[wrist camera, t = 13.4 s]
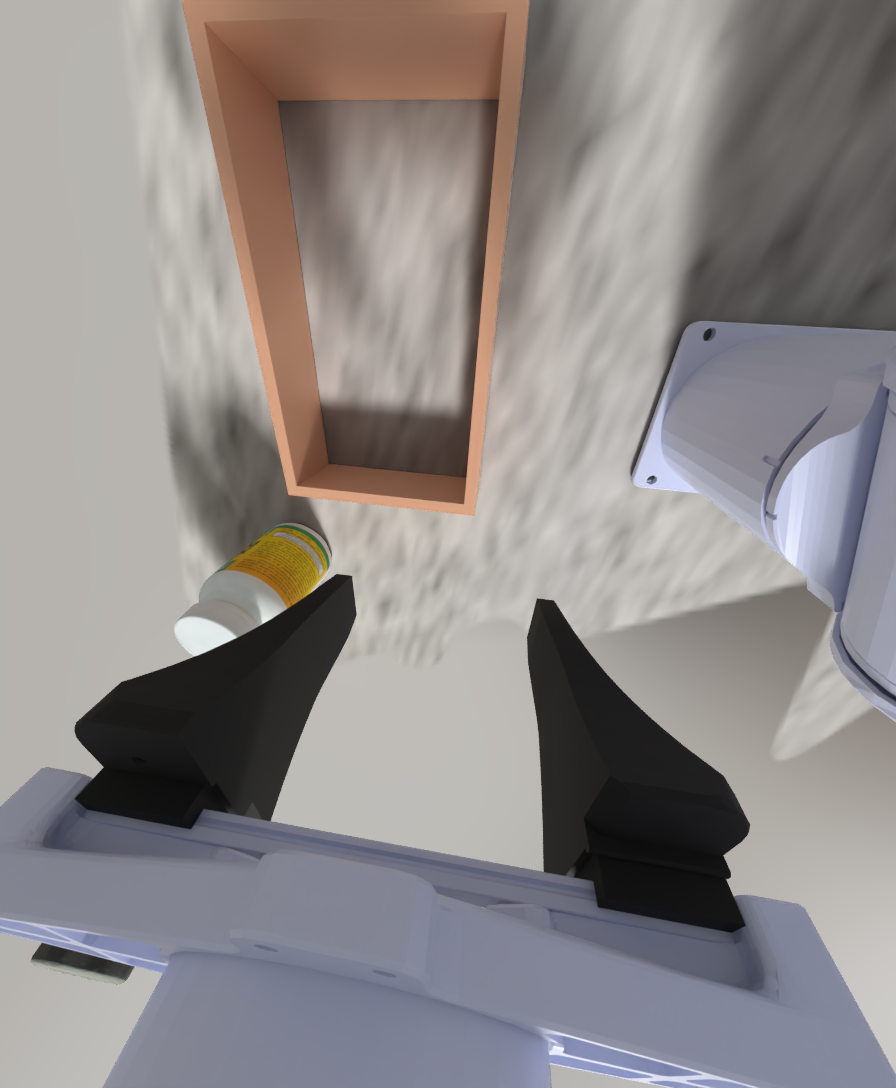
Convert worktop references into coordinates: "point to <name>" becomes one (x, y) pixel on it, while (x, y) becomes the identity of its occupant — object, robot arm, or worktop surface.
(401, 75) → the peach storage tray
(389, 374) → the worktop surface
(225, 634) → the supplement bottle
